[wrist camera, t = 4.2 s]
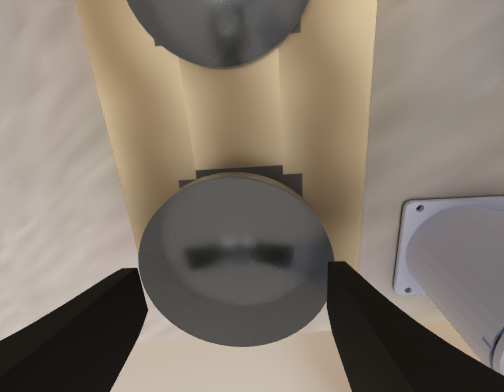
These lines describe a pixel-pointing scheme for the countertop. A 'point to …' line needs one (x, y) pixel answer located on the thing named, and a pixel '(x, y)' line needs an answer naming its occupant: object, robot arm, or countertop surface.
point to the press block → (241, 113)
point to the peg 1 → (219, 28)
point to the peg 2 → (236, 260)
